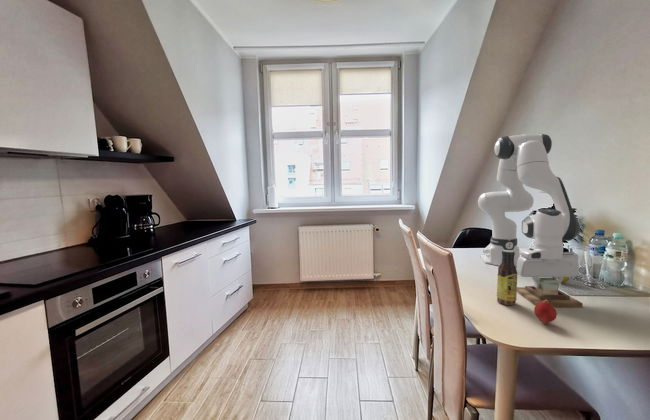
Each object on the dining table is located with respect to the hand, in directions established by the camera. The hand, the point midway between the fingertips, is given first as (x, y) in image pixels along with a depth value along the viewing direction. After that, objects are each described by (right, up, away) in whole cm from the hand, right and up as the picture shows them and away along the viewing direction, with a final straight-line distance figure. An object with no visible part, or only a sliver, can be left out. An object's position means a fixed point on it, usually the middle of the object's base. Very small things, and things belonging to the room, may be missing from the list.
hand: (546, 287), depth 110 cm
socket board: (0, -4, 0) cm, 4 cm away
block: (0, -2, 0) cm, 2 cm away
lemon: (+18, -2, +15) cm, 24 cm away
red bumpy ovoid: (-14, -7, -18) cm, 24 cm away
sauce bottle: (-16, -5, -2) cm, 17 cm away
